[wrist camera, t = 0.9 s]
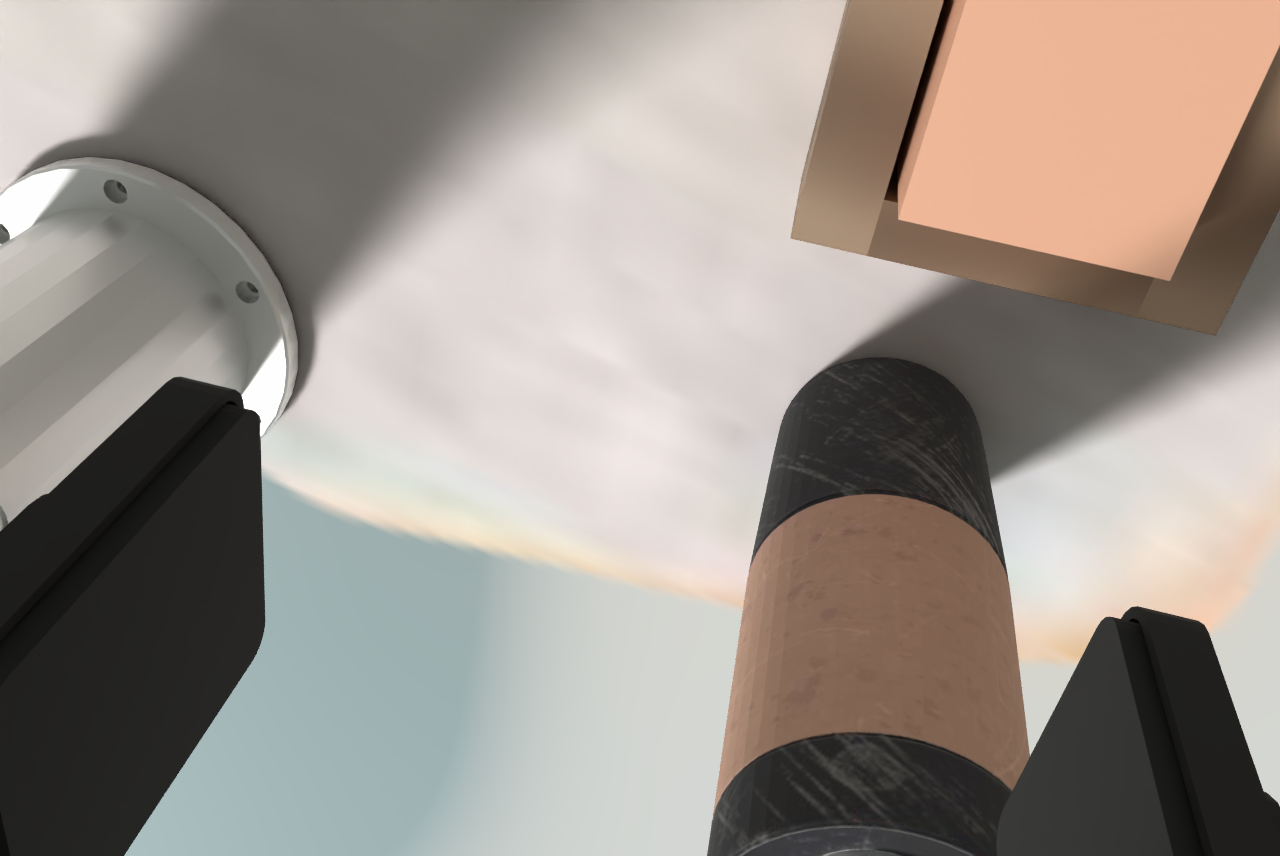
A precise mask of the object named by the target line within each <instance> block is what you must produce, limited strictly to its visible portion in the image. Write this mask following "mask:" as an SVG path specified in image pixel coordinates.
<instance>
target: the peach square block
mask: <svg viewBox="0 0 1280 856" xmlns="http://www.w3.org/2000/svg"><path fill="white" fill-rule="evenodd" d="M1279 46H1280V0H944V1H943V5H942V8H941V11H940V15H939V18H938V21H937V25H936V28H935V31H934V35H933V38H932V41H931V45H930V48H929V51H928V55H927V58H926V61H925V65H924V68H923V71H922V75H921V78H920V81H919V85H918V88H917V91H916V95H915V98H914V101H913V105H912V108H911V111H910V115H909V118H908V121H907V125H906V128H905V131H904V135H903V138H902V141H901V145H900V148H899V151H898V155H897V176H898V220H903V221H907V222H911V223H916V224H920V225H925V226H929V227H933V228H938V229H942V230H947V231H951V232H956V233H960V234H964V235H969V236H973V237H978V238H982V239H986V240H991V241H995V242H1000V243H1004V244H1008V245H1013V246H1017V247H1022V248H1026V249H1031V250H1035V251H1039V252H1044V253H1048V254H1053V255H1057V256H1061V257H1066V258H1070V259H1075V260H1079V261H1084V262H1088V263H1092V264H1097V265H1101V266H1106V267H1110V268H1114V269H1119V270H1123V271H1128V272H1132V273H1137V274H1141V275H1145V276H1150V277H1154V278H1159V279H1163V280H1167V281H1170V280H1171V277H1172V275H1173V273H1174V271H1175V269H1176V267H1177V265H1178V262H1179V260H1180V258H1181V256H1182V254H1183V252H1184V250H1185V247H1186V245H1187V243H1188V241H1189V239H1190V237H1191V234H1192V232H1193V230H1194V228H1195V226H1196V224H1197V222H1198V219H1199V217H1200V215H1201V213H1202V211H1203V209H1204V207H1205V204H1206V202H1207V200H1208V198H1209V196H1210V194H1211V192H1212V189H1213V187H1214V185H1215V183H1216V181H1217V179H1218V177H1219V174H1220V172H1221V170H1222V168H1223V166H1224V164H1225V162H1226V159H1227V157H1228V155H1229V153H1230V151H1231V149H1232V147H1233V144H1234V142H1235V140H1236V138H1237V136H1238V134H1239V132H1240V129H1241V127H1242V125H1243V123H1244V121H1245V119H1246V117H1247V114H1248V112H1249V110H1250V108H1251V106H1252V104H1253V102H1254V99H1255V97H1256V95H1257V93H1258V91H1259V89H1260V87H1261V84H1262V82H1263V80H1264V78H1265V76H1266V74H1267V72H1268V69H1269V67H1270V65H1271V63H1272V61H1273V59H1274V57H1275V54H1276V52H1277V50H1278V48H1279Z"/></svg>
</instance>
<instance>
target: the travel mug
mask: <svg viewBox="0 0 1280 856" xmlns="http://www.w3.org/2000/svg"><path fill="white" fill-rule="evenodd" d="M1020 679H1021V678H1020V670H1019V662H1018V653H1017V645H1016V636H1015V628H1014V620H1013V611H1012V603H1011V595H1010V587H1009V582H1008V575H1007V569H1006V564H1005V559H1004V553H1003V548H1002V542H1001V537H1000V532H999V526H998V521H997V516H996V510H995V505H994V500H993V494H992V489H991V483H990V478H989V473H988V467H987V462H986V457H985V451H984V447H983V442H982V437H981V433H980V430H979V426H978V423H977V420H976V417H975V415H974V412H973V410H972V408H971V406H970V405H969V403H968V402H967V400H966V399H965V398H964V396H963V395H962V394H961V393H960V392H959V391H958V390H957V389H956V387H955V386H954V385H952V384H951V383H950V382H949V381H947V380H946V379H945V378H944V377H942V376H940V375H939V374H937V373H936V372H934V371H932V370H930V369H928V368H926V367H923V366H921V365H918V364H915V363H912V362H908V361H903V360H898V359H890V358H867V359H860V360H854V361H850V362H847V363H843V364H840V365H838V366H835V367H833V368H830V369H828V370H827V371H825V372H823V373H821V374H819V375H818V376H816V377H815V378H814V379H812V380H811V381H810V382H808V383H807V384H806V385H805V386H804V387H803V388H802V389H801V390H800V391H799V393H798V394H797V395H796V396H795V397H794V399H793V400H792V402H791V403H790V405H789V407H788V408H787V410H786V412H785V415H784V417H783V420H782V423H781V426H780V430H779V434H778V439H777V443H776V447H775V451H774V456H773V461H772V465H771V470H770V475H769V479H768V484H767V489H766V494H765V498H764V503H763V508H762V513H761V517H760V522H759V527H758V531H757V536H756V541H755V546H754V550H753V555H752V560H751V565H750V569H749V575H748V580H747V586H746V593H745V600H744V607H743V614H742V620H741V627H740V635H739V641H738V648H737V655H736V662H735V668H734V675H733V682H732V689H731V696H730V703H729V710H728V717H727V724H726V730H725V737H724V744H723V752H722V758H721V765H720V771H719V779H718V786H717V792H716V799H715V806H714V813H713V820H712V826H711V834H710V840H709V847H708V854H707V856H997V848H996V840H997V830H998V825H999V820H1000V817H1001V813H1002V811H1003V808H1004V806H1005V804H1006V802H1007V800H1008V798H1009V796H1010V794H1011V793H1012V791H1013V789H1014V787H1015V785H1016V783H1017V781H1018V779H1019V777H1020V775H1021V773H1022V771H1023V769H1024V767H1025V766H1026V764H1027V762H1028V760H1029V758H1030V754H1029V746H1028V738H1027V729H1026V721H1025V712H1024V704H1023V695H1022V687H1021V680H1020Z"/></svg>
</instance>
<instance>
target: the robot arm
mask: <svg viewBox="0 0 1280 856" xmlns="http://www.w3.org/2000/svg"><path fill="white" fill-rule="evenodd" d="M297 371H298V340H297V335H296V330H295V325H294V320H293V315H292V312H291V309H290V307H289V304H288V302H287V299H286V297H285V294H284V292H283V289H282V287H281V284H280V282H279V281H278V279H277V277H276V276H275V274H274V272H273V271H272V269H271V267H270V266H269V264H268V262H267V261H266V259H265V257H264V256H263V254H262V253H261V252H260V251H259V249H258V248H257V247H256V246H255V245H254V243H253V242H252V241H251V240H250V239H249V237H248V236H247V235H246V234H245V232H244V231H243V230H242V229H241V228H240V227H239V226H238V225H237V224H236V223H235V222H234V221H233V220H231V219H230V218H229V217H228V216H227V215H226V214H225V213H224V212H223V211H221V210H220V209H219V208H218V207H217V206H216V205H215V204H214V203H212V202H211V201H209V200H208V199H206V198H205V197H203V196H202V195H200V194H199V193H197V192H196V191H194V190H193V189H191V188H190V187H188V186H187V185H185V184H184V183H182V182H179V181H177V180H175V179H173V178H171V177H169V176H167V175H164V174H162V173H160V172H158V171H156V170H154V169H151V168H148V167H144V166H141V165H137V164H133V163H130V162H126V161H123V160H118V159H106V158H95V157H83V158H75V159H67V160H59V161H57V162H54V163H51V164H48V165H46V166H43V167H40V168H38V169H35V170H33V171H31V172H30V173H28V174H26V175H25V176H23V177H21V178H20V179H18V180H16V181H15V182H13V183H11V184H9V185H8V186H7V187H6V188H5V189H4V190H3V191H2V192H1V193H0V856H124V855H125V853H126V852H127V850H128V849H129V847H130V845H131V844H132V843H133V841H134V840H135V838H136V837H137V835H138V833H139V832H140V830H141V829H142V827H143V826H144V824H145V823H146V821H147V820H148V818H149V817H150V815H151V814H152V812H153V811H154V809H155V808H156V806H157V805H158V803H159V801H160V800H161V798H162V797H163V796H164V794H165V792H166V791H167V789H168V788H169V787H170V785H171V783H172V782H173V780H174V779H175V777H176V776H177V774H178V773H179V771H180V770H181V768H182V767H183V765H184V764H185V762H186V761H187V759H188V758H189V756H190V755H191V753H192V752H193V750H194V749H195V747H196V746H197V744H198V743H199V741H200V739H201V738H202V737H203V735H204V734H205V732H206V731H207V729H208V727H209V726H210V724H211V723H212V721H213V720H214V718H215V717H216V715H217V714H218V712H219V711H220V709H221V708H222V706H223V705H224V703H225V702H226V700H227V699H228V697H229V696H230V694H231V693H232V691H233V690H234V688H235V687H236V685H237V684H238V682H239V681H240V679H241V678H242V676H243V674H244V673H245V671H246V670H247V668H248V667H249V665H250V664H251V662H252V661H253V659H254V657H255V655H256V654H257V651H258V649H259V646H260V644H261V640H262V637H263V632H264V627H265V600H264V599H265V597H264V596H265V595H264V558H263V557H264V556H263V522H262V521H263V517H262V482H261V481H262V479H261V440H260V439H261V438H262V437H263V436H264V435H265V434H266V433H267V432H268V431H269V429H270V428H271V427H272V426H273V424H274V423H275V422H276V421H277V420H278V418H279V417H280V416H281V415H282V413H283V411H284V409H285V407H286V405H287V403H288V401H289V399H290V397H291V395H292V393H293V388H294V384H295V380H296V375H297ZM996 848H997V856H1280V806H1279V804H1278V802H1276V801H1275V800H1274V799H1273V798H1272V797H1271V796H1270V795H1269V794H1267V793H1266V792H1264V791H1263V789H1262V786H1261V783H1260V780H1259V777H1258V774H1257V771H1256V768H1255V765H1254V763H1253V760H1252V757H1251V754H1250V751H1249V748H1248V745H1247V742H1246V740H1245V737H1244V734H1243V731H1242V728H1241V725H1240V722H1239V719H1238V716H1237V713H1236V711H1235V708H1234V705H1233V702H1232V699H1231V696H1230V693H1229V690H1228V688H1227V685H1226V681H1225V679H1224V676H1223V673H1222V670H1221V667H1220V664H1219V661H1218V658H1217V656H1216V653H1215V650H1214V647H1213V644H1212V641H1211V638H1210V635H1209V633H1208V631H1207V629H1206V627H1205V625H1204V624H1202V623H1201V622H1199V621H1196V620H1192V619H1188V618H1184V617H1180V616H1175V615H1171V614H1167V613H1163V612H1159V611H1155V610H1150V609H1146V608H1142V607H1138V606H1137V607H1131V608H1130V609H1129V610H1128V611H1126V612H1125V614H1124V615H1123V617H1122V618H1121V619H1118V618H1114V617H1105V618H1104V619H1103V620H1102V621H1101V622H1100V624H1099V625H1098V627H1097V629H1096V630H1095V632H1094V634H1093V636H1092V638H1091V640H1090V642H1089V644H1088V646H1087V648H1086V650H1085V652H1084V654H1083V656H1082V657H1081V659H1080V661H1079V663H1078V665H1077V667H1076V669H1075V671H1074V673H1073V675H1072V677H1071V679H1070V681H1069V683H1068V684H1067V687H1066V689H1065V690H1064V692H1063V694H1062V696H1061V698H1060V700H1059V702H1058V704H1057V706H1056V708H1055V710H1054V712H1053V713H1052V716H1051V717H1050V719H1049V721H1048V723H1047V725H1046V727H1045V729H1044V731H1043V733H1042V735H1041V737H1040V739H1039V741H1038V742H1037V744H1036V746H1035V748H1034V750H1033V752H1032V754H1031V756H1030V758H1029V760H1028V762H1027V764H1026V766H1025V767H1024V769H1023V771H1022V773H1021V775H1020V777H1019V779H1018V781H1017V783H1016V785H1015V787H1014V789H1013V791H1012V793H1011V794H1010V796H1009V798H1008V800H1007V802H1006V804H1005V806H1004V808H1003V811H1002V813H1001V817H1000V820H999V825H998V830H997V840H996Z"/></svg>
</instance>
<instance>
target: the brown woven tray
mask: <svg viewBox="0 0 1280 856" xmlns="http://www.w3.org/2000/svg"><path fill="white" fill-rule="evenodd" d="M943 1H944V0H847V2H846V6H845V10H844V14H843V18H842V21H841V25H840V29H839V33H838V37H837V41H836V45H835V49H834V53H833V57H832V61H831V65H830V69H829V72H828V76H827V80H826V84H825V88H824V92H823V96H822V100H821V104H820V108H819V112H818V116H817V119H816V123H815V127H814V131H813V135H812V139H811V143H810V147H809V151H808V155H807V159H806V163H805V166H804V170H803V174H802V179H801V184H800V189H799V195H798V200H797V206H796V211H795V217H794V222H793V228H792V233H791V238H792V239H796V240H800V241H805V242H809V243H813V244H818V245H822V246H826V247H831V248H835V249H840V250H844V251H848V252H853V253H857V254H861V255H866V256H870V257H875V258H879V259H883V260H888V261H892V262H896V263H901V264H905V265H910V266H914V267H918V268H923V269H927V270H931V271H936V272H940V273H944V274H949V275H953V276H958V277H962V278H966V279H971V280H975V281H979V282H984V283H988V284H993V285H997V286H1001V287H1006V288H1010V289H1014V290H1019V291H1023V292H1027V293H1032V294H1036V295H1041V296H1045V297H1049V298H1054V299H1058V300H1062V301H1067V302H1071V303H1076V304H1080V305H1084V306H1089V307H1093V308H1097V309H1102V310H1106V311H1111V312H1115V313H1119V314H1124V315H1128V316H1132V317H1137V318H1141V319H1145V320H1150V321H1154V322H1159V323H1163V324H1167V325H1172V326H1176V327H1180V328H1185V329H1189V330H1194V331H1198V332H1202V333H1207V334H1211V335H1215V336H1216V334H1217V332H1218V330H1219V328H1220V326H1221V324H1222V322H1223V320H1224V318H1225V316H1226V314H1227V312H1228V310H1229V308H1230V306H1231V304H1232V302H1233V300H1234V298H1235V296H1236V294H1237V292H1238V290H1239V288H1240V286H1241V284H1242V282H1243V280H1244V278H1245V276H1246V274H1247V272H1248V270H1249V268H1250V266H1251V264H1252V262H1253V260H1254V258H1255V257H1256V255H1257V253H1258V251H1259V249H1260V247H1261V245H1262V243H1263V241H1264V239H1265V237H1266V235H1267V233H1268V231H1269V229H1270V227H1271V225H1272V223H1273V221H1274V219H1275V217H1276V215H1277V213H1278V211H1279V209H1280V46H1279V48H1278V50H1277V52H1276V54H1275V57H1274V59H1273V61H1272V63H1271V65H1270V67H1269V69H1268V72H1267V74H1266V76H1265V78H1264V80H1263V82H1262V84H1261V87H1260V89H1259V91H1258V93H1257V95H1256V97H1255V99H1254V102H1253V104H1252V106H1251V108H1250V110H1249V112H1248V114H1247V117H1246V119H1245V121H1244V123H1243V125H1242V127H1241V129H1240V132H1239V134H1238V136H1237V138H1236V140H1235V142H1234V144H1233V147H1232V149H1231V151H1230V153H1229V155H1228V157H1227V159H1226V162H1225V164H1224V166H1223V168H1222V170H1221V172H1220V174H1219V177H1218V179H1217V181H1216V183H1215V185H1214V187H1213V189H1212V192H1211V194H1210V196H1209V198H1208V200H1207V202H1206V204H1205V207H1204V209H1203V211H1202V213H1201V215H1200V217H1199V219H1198V222H1197V224H1196V226H1195V228H1194V230H1193V232H1192V234H1191V237H1190V239H1189V241H1188V243H1187V245H1186V247H1185V250H1184V252H1183V254H1182V256H1181V258H1180V260H1179V262H1178V265H1177V267H1176V269H1175V271H1174V273H1173V275H1172V277H1171V280H1170V281H1167V280H1163V279H1159V278H1154V277H1150V276H1145V275H1141V274H1137V273H1132V272H1128V271H1123V270H1119V269H1114V268H1110V267H1106V266H1101V265H1097V264H1092V263H1088V262H1084V261H1079V260H1075V259H1070V258H1066V257H1061V256H1057V255H1053V254H1048V253H1044V252H1039V251H1035V250H1031V249H1026V248H1022V247H1017V246H1013V245H1008V244H1004V243H1000V242H995V241H991V240H986V239H982V238H978V237H973V236H969V235H964V234H960V233H956V232H951V231H947V230H942V229H938V228H933V227H929V226H925V225H920V224H916V223H911V222H907V221H903V220H898V176H897V155H898V151H899V148H900V144H901V141H902V138H903V134H904V131H905V128H906V124H907V121H908V118H909V114H910V111H911V108H912V104H913V101H914V98H915V94H916V91H917V88H918V84H919V81H920V78H921V74H922V71H923V68H924V64H925V61H926V58H927V54H928V51H929V48H930V44H931V41H932V38H933V34H934V31H935V28H936V24H937V21H938V18H939V14H940V11H941V8H942V4H943Z"/></svg>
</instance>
